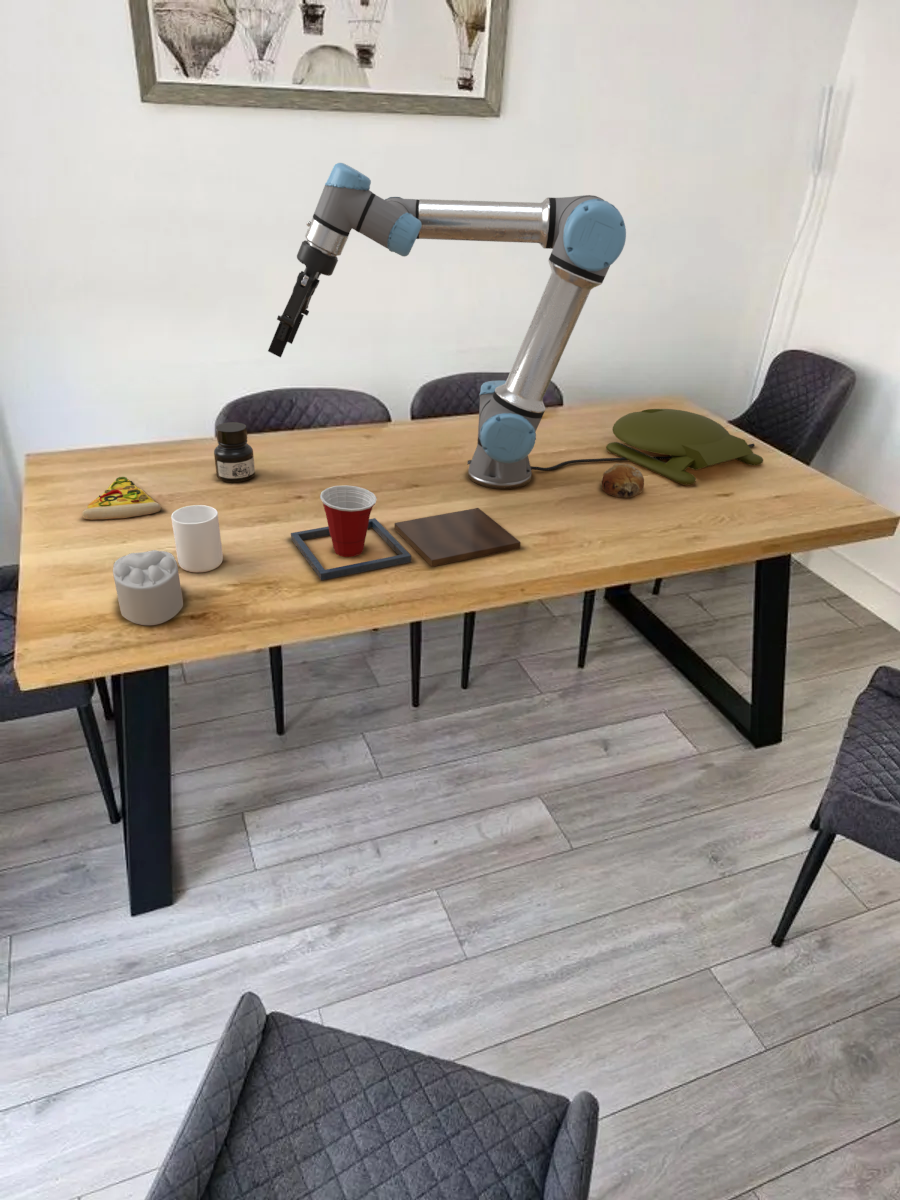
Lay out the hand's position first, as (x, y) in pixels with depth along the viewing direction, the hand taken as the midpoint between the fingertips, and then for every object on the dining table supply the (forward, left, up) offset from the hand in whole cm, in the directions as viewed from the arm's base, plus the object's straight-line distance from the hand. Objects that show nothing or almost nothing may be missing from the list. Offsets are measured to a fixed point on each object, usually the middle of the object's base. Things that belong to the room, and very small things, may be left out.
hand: (280, 347), depth 169 cm
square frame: (-2, +31, -33) cm, 45 cm away
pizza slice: (+35, -11, -33) cm, 49 cm away
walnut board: (-24, +35, -33) cm, 54 cm away
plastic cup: (-2, +31, -33) cm, 45 cm away
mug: (+26, +23, -33) cm, 48 cm away
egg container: (+37, +37, -33) cm, 62 cm away
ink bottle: (+9, -15, -33) cm, 37 cm away
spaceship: (-100, +13, -33) cm, 106 cm away
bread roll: (-72, +27, -33) cm, 84 cm away
